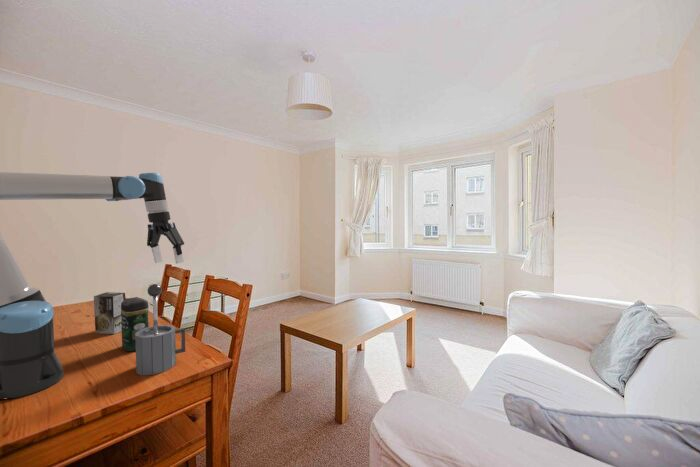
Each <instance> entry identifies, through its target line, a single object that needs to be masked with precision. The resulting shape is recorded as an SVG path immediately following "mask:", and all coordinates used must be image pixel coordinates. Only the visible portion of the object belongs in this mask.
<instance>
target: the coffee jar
mask: <svg viewBox="0 0 700 467" xmlns="http://www.w3.org/2000/svg"><path fill="white" fill-rule="evenodd" d="M121 323H122V331H121V345H122V348H123V350H125V351H127V352H134V351H135V352H136V340H135V333H136V332H138V331H139V330H141V329H144V328H147V327H150V326H149V324H150V322H149V301H148V300H146V299H143V298H141V297H138V296H134V297H129V298H125V300H124V301H123V302H122V303H121Z"/></svg>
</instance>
